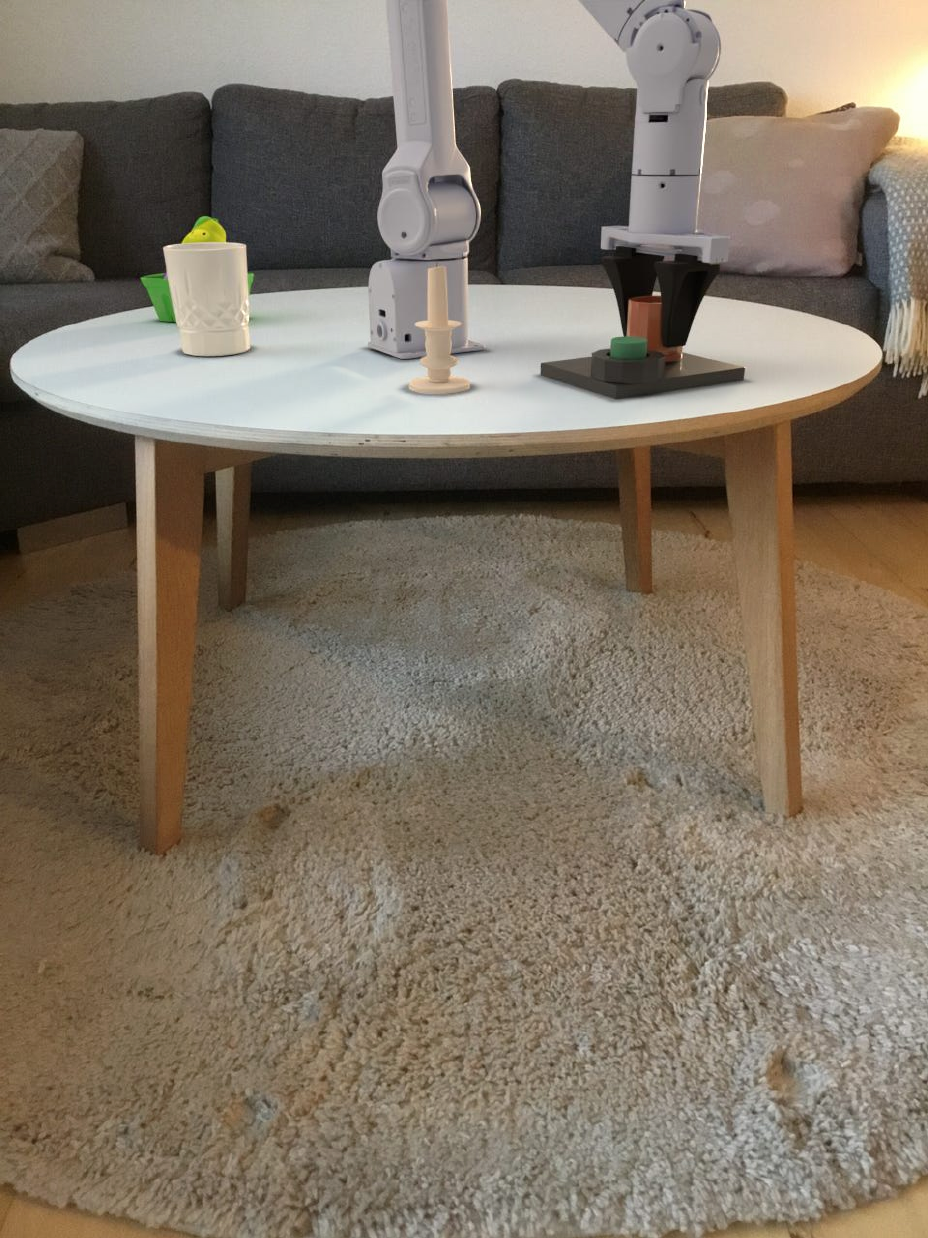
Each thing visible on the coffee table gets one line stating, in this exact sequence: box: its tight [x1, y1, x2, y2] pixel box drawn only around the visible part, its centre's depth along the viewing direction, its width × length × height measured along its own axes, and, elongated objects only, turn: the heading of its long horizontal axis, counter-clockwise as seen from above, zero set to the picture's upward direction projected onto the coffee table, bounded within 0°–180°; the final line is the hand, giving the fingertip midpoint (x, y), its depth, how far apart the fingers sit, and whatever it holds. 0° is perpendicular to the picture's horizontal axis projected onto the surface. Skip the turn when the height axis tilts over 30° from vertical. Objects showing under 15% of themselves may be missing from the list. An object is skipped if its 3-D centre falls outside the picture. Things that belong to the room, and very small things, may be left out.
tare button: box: [609, 336, 648, 359], centre depth 83 cm, size 3×3×2 cm
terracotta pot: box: [627, 294, 684, 362], centre depth 90 cm, size 5×5×5 cm
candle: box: [408, 260, 471, 395], centre depth 84 cm, size 5×5×10 cm
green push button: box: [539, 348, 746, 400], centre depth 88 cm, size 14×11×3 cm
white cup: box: [162, 241, 251, 357], centre depth 100 cm, size 8×8×10 cm
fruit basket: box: [140, 215, 255, 323], centre depth 118 cm, size 11×9×11 cm
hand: (654, 341), depth 90 cm, fingers closed on terracotta pot, 5 cm apart
